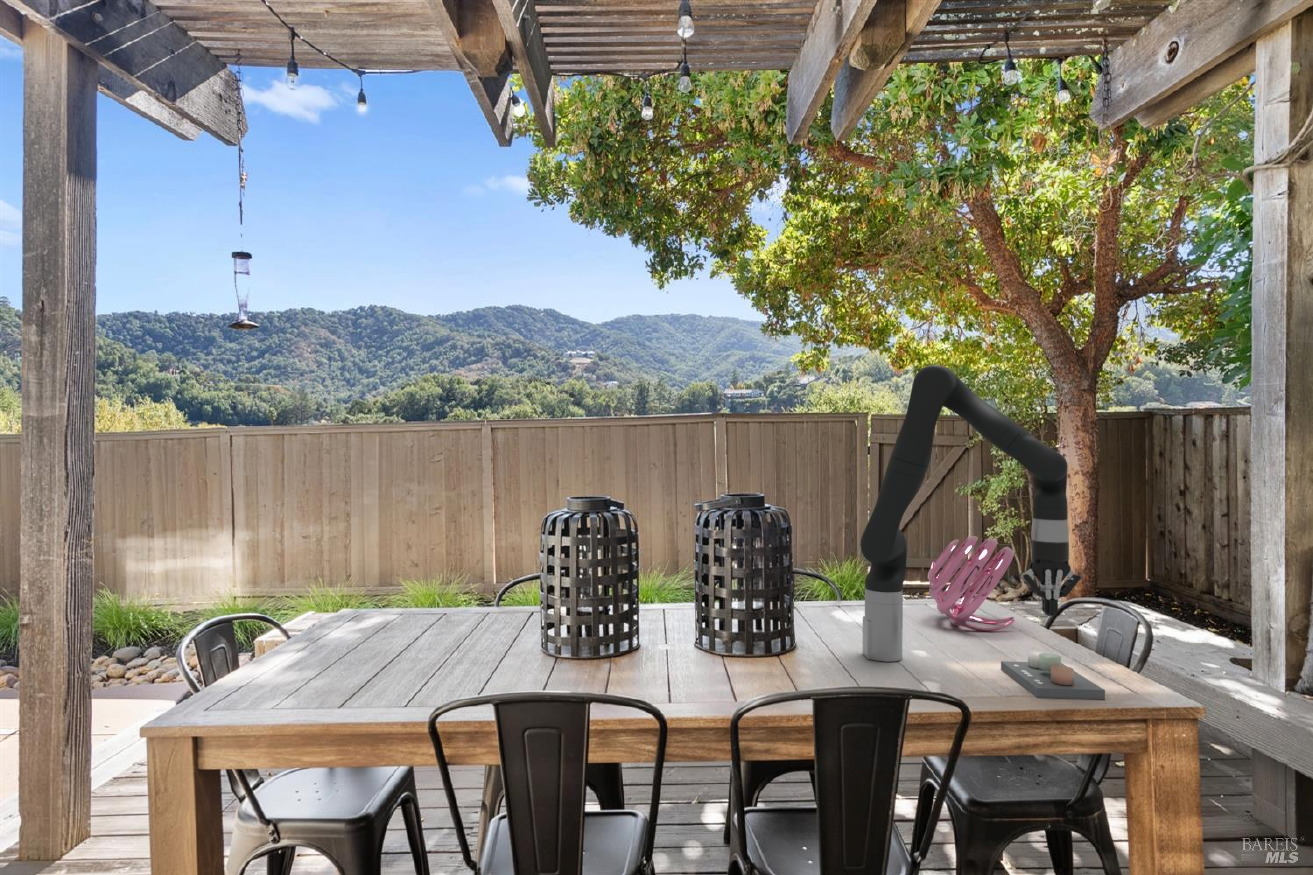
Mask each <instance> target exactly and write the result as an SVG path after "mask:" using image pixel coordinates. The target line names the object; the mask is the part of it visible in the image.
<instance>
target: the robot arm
mask: <svg viewBox="0 0 1313 875" xmlns="http://www.w3.org/2000/svg"><path fill="white" fill-rule="evenodd" d="M910 391H911V392H910V396H909V400H908V405H907V410H906V414H905V416H904V420H903V422H902V424H901V427H900V429H899V433H898V435H897V438H896V441H895V443H894V446H893V448H892V451H891V454H890V457H889V459H888V463H887V466H886V470H885V473H884V476H883V480H882V483H881V486H880V489H879V493H878V496H877V498H876V503H875V506H874V508H873V511H872V513H871V515H870V518H869V520H868V522H867V524H866V525H865V528H864V530H863V533H862V535H861V539H860V551H861V553H862V556H863V557H864V559H865V560H866V561H868V562H870V564H871V565H870V568H869V570H868V574H866V576H865V578H864V615H863V616H862V654H863V656H865V658H866V660H873V661H878V662H887V663H889V662H891V663H892V662H898V661H902V659H903V650H904V649H903V623H904V622H903V621H904V620H903V616H904V615H903V602H904V600H903V597H904V592H903V590H904V582H905V579H906V574H907V557H908V549H907V547H908V546H907V538H906V536H905V534H904V533H903V531H902V530H901V529H900V524H901V522H902V519H903V518H904V515H905V512H906V511H907V509H908V507H909V506H910V505H911V503H912V501H913V500H914V498H915V497H916V496H917V494H918V492H919V491H920V489H921V487H922V485H923V482H924V480H925V478H926V475H927V472H928V469H929V465H930V462H931V459H932V453H933V448H934V446H933V445H934V438H935V429H936V424H937V422H938V419H939V416H940V414H941V412H942V410H943V407H944V408H946V409H948V410H949V411H951V412H953V413H954V414H956V415H958V416H959V417H961V418H962V419H963V420H965V422H967V423H968V424H969V425H970V426H971V427H972V428H973V429H975V430H976V431H977V432H978V434H980V435H981V436H982V437H983V438H985V439H986V440H987V441H988V442H989V443H991V444H992V445H993V446H995V447H996V448H997V449H998V450H1000V451H1001V452H1003V453H1004V454H1006V455H1007V456H1009V457H1011V458H1012V459H1014V460H1016V461H1017V463H1019V464H1020V465H1021V466H1022V467H1024V468H1025V469H1026V470H1028V471H1027V472H1030V473H1031V474H1032V475H1033V483H1034V484H1033V485H1034V486H1033V487H1034V490H1033V491H1034V494H1033V500H1032V521H1031V522H1032V524H1031V533H1030V537H1031V562H1030V564H1029V569H1028V570H1027V571H1025V572H1020V574H1019V577H1020V578H1021V579H1022V581H1023V582H1024V583H1025V584H1026V586H1027V587H1028V588H1029V589H1030V591H1031V592H1032V593H1033V595H1036V596H1038V597H1040V598H1041V607H1042V608H1041V610H1042V612H1043V613H1044V615H1045V616H1047V617H1055V616H1056V614H1058V612H1059V599H1061V598H1066V597H1067V596H1068V595H1069V594H1070V593H1071V592H1072V591H1073V589H1074V588H1075V587H1076V585H1077V584H1078V583H1079V582H1080V581H1081V579H1082V578H1081V575H1078V574H1076V573H1074V571H1073V570H1071V569H1072V568H1071V565H1070V564H1069V560H1070V532H1069V531H1070V530H1069V528H1070V527H1069V522H1068V521H1069V520H1068V512H1069V511H1068V509H1069V508H1068V506H1069V505H1068V498H1067V485H1068V462H1067V459H1066V458H1065V457H1064V456H1063V454H1061V453H1060V452H1057V451H1056V450H1055V449H1053V448H1051V447H1050V446H1048V445H1047V444H1045V443H1044V442H1042V441H1040V440H1039V439H1037V438H1036V437H1035V436H1034V435H1033V434H1032V433H1031V432H1030V431H1029V430H1027V429H1026V428H1024V427H1023V426H1021V425H1020V424H1018V423H1017V422H1016V421H1014V420H1013V419H1011V418H1010V417H1008V416H1007V415H1005V414H1004V413H1002V412H1001V411H999V410H998V409H996V408H995V407H993V406H992V405H990V404H989V403H988V402H986V401H984V399H982V398H980V396H978V395H977V394H975V392H973V391H972V390H971V389H970V388H968V386H966V385H965V383H963V381H961V380H960V379H959V377H957V375H956V374H955V373H954V371H953V370H952V369H950V368H949V367H947V366H944V365H940V364H929V365H926V366H924V367H922V368H920V369H919V371H918V372H917V373H916V374H915V376H914V378H913V381H912V387H911V390H910ZM1035 578H1036V580H1037V581H1038V582H1039V584H1038V585H1037V583H1036V582H1035ZM1064 580H1065V581H1064ZM1063 581H1064V582H1063Z"/></svg>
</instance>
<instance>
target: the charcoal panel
mask: <svg viewBox="0 0 1313 875" xmlns="http://www.w3.org/2000/svg"><path fill="white" fill-rule="evenodd" d="M1061 665H1062V666H1066V665H1065V664H1064V663H1062V662H1061ZM1000 670H1001V671H1002V672H1003V673H1005V674H1006V675H1007V676H1008V677H1010V678H1011V679H1013V680H1014V682H1017V683H1018V684H1019V685H1021V687H1023V688H1024V689H1026V690H1027V691H1029V693H1031V694H1032V695H1033V696H1035V697H1036V698H1043V699H1076V700H1077V699H1079V700H1103V701H1105V700H1106V690H1105V689H1104V688H1102V687H1101V686H1099V685H1097V684H1096V683H1094V682H1093V681H1091V680H1089V679H1088V678H1086V677H1085V676H1083V675H1082V674H1080V673H1078V672H1076V671H1075V670H1074V684H1073V685H1061V684H1056V683H1054V682H1052V681H1051V672H1049V671H1044V670H1041V669H1040V668H1034V667H1031V666H1029V665H1028V661H1009V660H1008V661H1003V660H1001V661H1000Z"/></svg>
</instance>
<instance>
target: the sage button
mask: <svg viewBox="0 0 1313 875" xmlns="http://www.w3.org/2000/svg"><path fill="white" fill-rule="evenodd" d="M1061 663H1062V656H1061V655H1059V654H1055V653H1049V652H1046V653H1040V654H1039V668H1040V669H1041V670H1044V671H1049V672H1051V666H1053V665H1061Z"/></svg>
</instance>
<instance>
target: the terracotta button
mask: <svg viewBox="0 0 1313 875" xmlns="http://www.w3.org/2000/svg"><path fill="white" fill-rule="evenodd" d="M1074 671H1075V670H1074V668H1072V667H1071V666H1068V665H1065V666H1062V665H1053V666H1051V681H1052V682H1054V683H1056V684H1061V685H1073V684H1074Z"/></svg>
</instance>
